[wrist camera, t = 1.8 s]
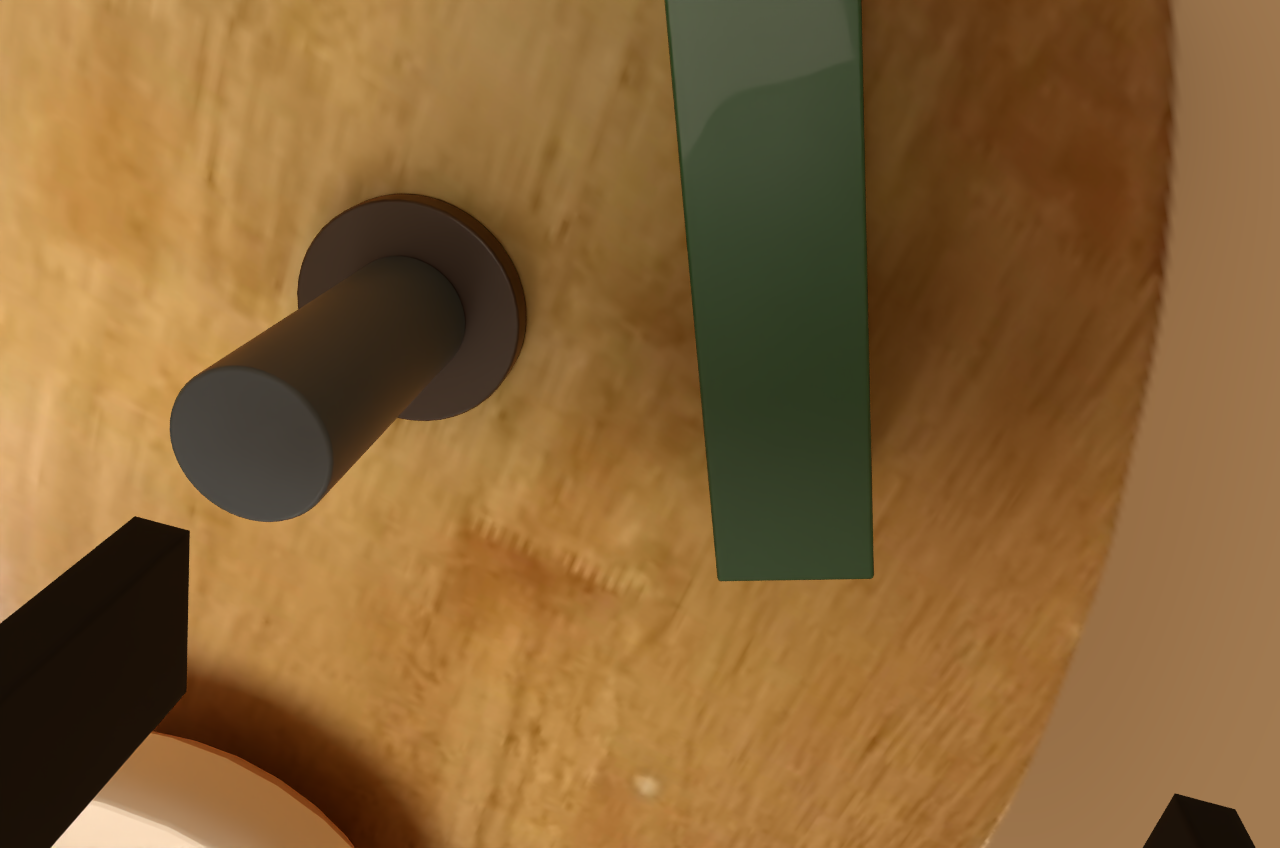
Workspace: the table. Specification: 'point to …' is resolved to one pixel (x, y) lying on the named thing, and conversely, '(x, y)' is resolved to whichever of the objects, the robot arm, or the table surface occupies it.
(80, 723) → the robot arm
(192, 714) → the table surface
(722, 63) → the green bar
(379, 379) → the grey cylinder on disc
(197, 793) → the bowl
